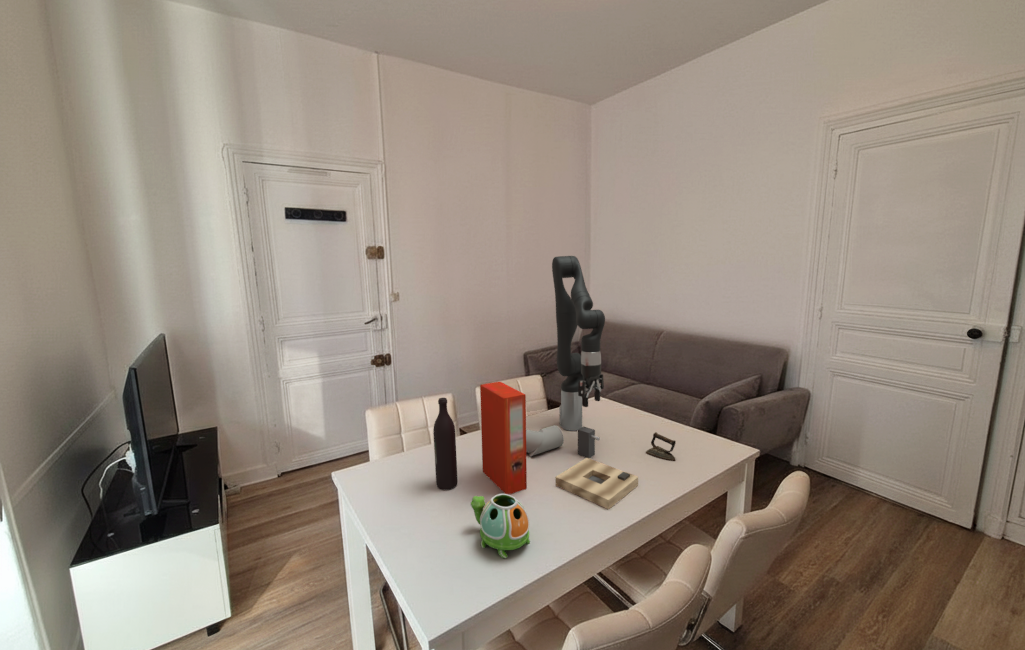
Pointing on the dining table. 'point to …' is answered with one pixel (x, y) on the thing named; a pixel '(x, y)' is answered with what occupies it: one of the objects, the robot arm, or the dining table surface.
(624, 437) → the dining table surface
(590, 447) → the plug
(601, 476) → the socket board
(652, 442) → the clothes iron
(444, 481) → the wine bottle
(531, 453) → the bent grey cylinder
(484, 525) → the turtle holder
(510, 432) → the file binder
